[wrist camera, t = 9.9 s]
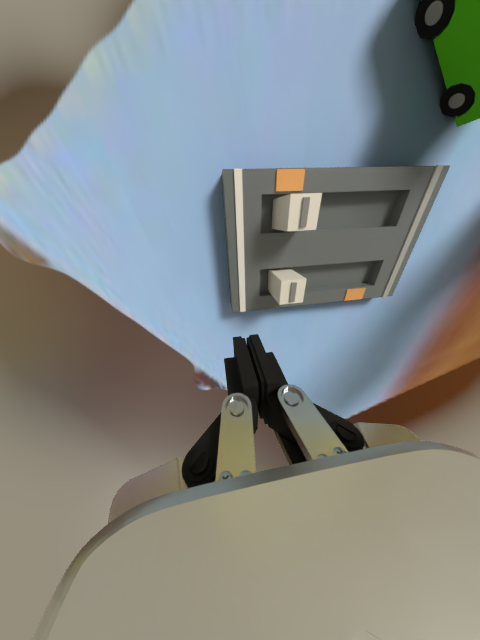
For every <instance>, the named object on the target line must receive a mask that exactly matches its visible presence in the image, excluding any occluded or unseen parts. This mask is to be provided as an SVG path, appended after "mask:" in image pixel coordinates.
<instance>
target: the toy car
mask: <svg viewBox="0 0 480 640" xmlns="http://www.w3.org/2000/svg"><path fill="white" fill-rule="evenodd" d="M415 25H416V29H417V32H418V34H419V36H420V37H421V38H425V39H430V38H432V37H434V36H436V35H437V36H436V37H435V39H434V45H435V49H436V53H437V56H438V60H439V63H440V67H441V71H442V74H443V78H444V81H445V85H446V89H447V90H446V91H445V92H444V94H443V96H442V98H441V100H440V108H441V111H442V113H443V114H444V115H446V116H450V117H454V116H457V117H456V118H455V121H456V125H457V127H458V126H460V125H463V124H466V123H468V122H471V121H474V120H476V119H479V118H480V0H422V1H421V2H420V4H419V6H418V10H417V13H416V16H415Z"/></svg>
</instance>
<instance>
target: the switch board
mask: <svg viewBox="0 0 480 640" xmlns="http://www.w3.org/2000/svg"><path fill="white" fill-rule="evenodd" d="M449 167H450V166H444V165H437V166H400V167H338V168H276V169H223V171H222V189H223V202H224V216H225V230H226V243H227V257H228V271H229V284H230V298H231V307H232V311H233V312H246V311H249V310H259V309H269V308H279V307H288V306H298V305H308V304H318V303H327V302H337V301H347V300H357V299H367V298H376V297H387V296H392V295H393V293H394V290H395V288H396V286H397V284H398V281H399V279H400V277H401V275H402V272H403V270H404V268H405V266H406V263H407V261H408V259H409V257H410V254H411V252H412V250H413V248H414V245H415V243H416V241H417V239H418V237H419V234H420V232H421V230H422V228H423V225H424V223H425V221H426V219H427V216H428V214H429V212H430V210H431V207H432V205H433V203H434V201H435V198H436V196H437V194H438V192H439V190H440V187H441V185H442V183H443V181H444V178H445V176H446V174H447V172H448V169H449ZM300 193H322V197H321V203H320V209H319V215H318V221H317V227H316V230H303V231H282V230H276V229H272V210H273V199H276V198H279V197H282V196H285V195H289V194H300ZM280 268H290V269H292V270H294V271H295V272H297V273H298V274H300V275H301V276H303V277H305V278H306V279H307V280H306V286H305V292H304V298H303V302H302V303H292V304H282V305H279V304H278V302H277V301H276V300H275V298H274V297H273V296H272V295H271V293H270V292H269V291H268V271H269V269H280Z"/></svg>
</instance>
